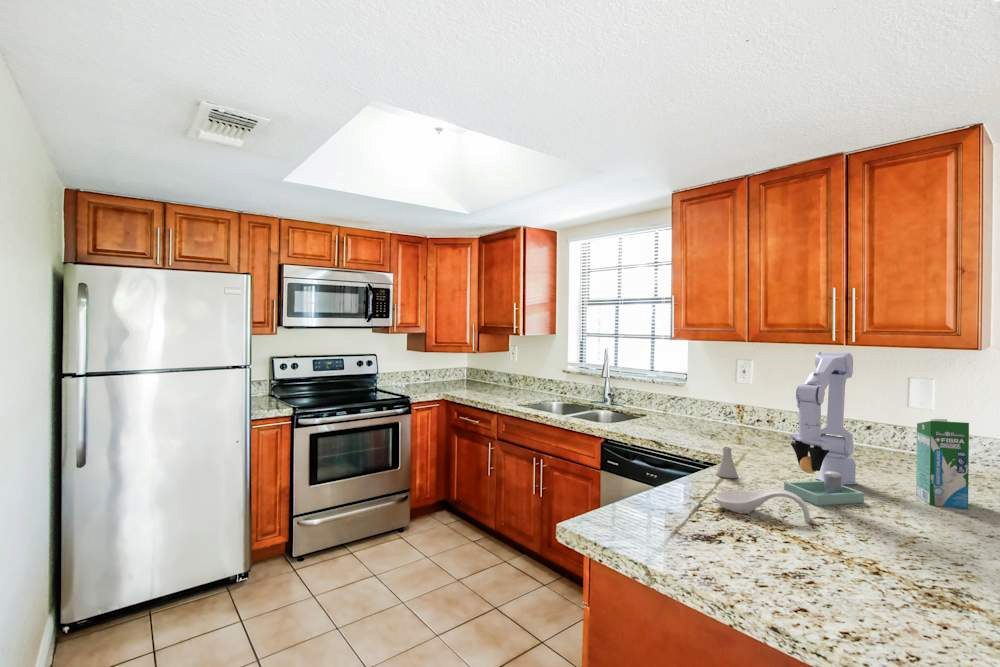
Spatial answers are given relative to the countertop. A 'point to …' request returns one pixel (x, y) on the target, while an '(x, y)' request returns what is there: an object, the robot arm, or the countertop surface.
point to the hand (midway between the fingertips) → (809, 468)
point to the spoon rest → (755, 500)
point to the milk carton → (943, 463)
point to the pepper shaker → (832, 482)
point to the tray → (816, 496)
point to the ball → (806, 464)
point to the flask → (727, 465)
